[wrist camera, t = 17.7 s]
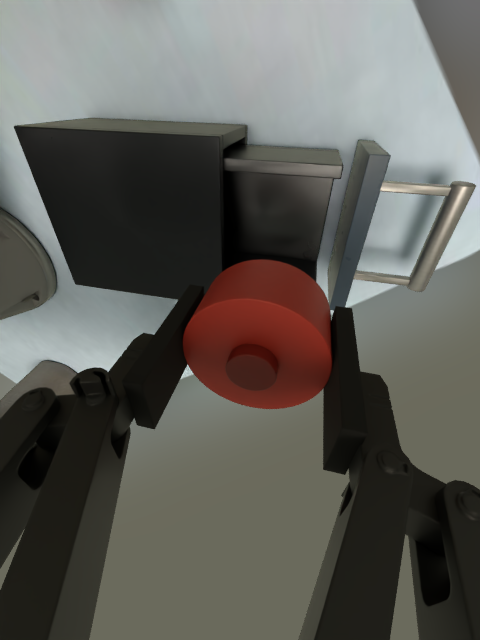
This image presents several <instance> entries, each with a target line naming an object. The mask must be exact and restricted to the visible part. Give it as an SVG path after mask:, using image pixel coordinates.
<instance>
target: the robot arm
mask: <svg viewBox="0 0 480 640" xmlns="http://www.w3.org/2000/svg"><path fill="white" fill-rule="evenodd" d="M55 289H56V276H55V272H54V269H53V266H52V263H51V261H50V259H49V257H48V255H47V254H46V252H45V250H44V249H43V247H42V246H41V245H40V243H39V242H38V241H37V239H36V238H35V237H34V236H33V235H32V234H31V233H30V232H29V231H28V229H27V228H25V227H24V226H23V225H22V224H21V223H20V222H19V221H18V220H16V219H15V218H14V217H12V216H11V215H10V214H8V213H7V212H5V211H4V210H2V209H0V320H2V319H5V318H8V317H11V316H14V315H17V314H20V313H23V312H26V311H29V310H32V309H35V308H37V307H39V306H41V305H42V304H43V303H45V302H46V301H47V300H49V299H50V298H51V297H52V296H53V294H54V292H55ZM203 297H204V286H197V285H189V286H188V288H187V289H186V291H185V292H184V293H183V295H182V296H181V298H180V299H179V301H178V302H177V303H176V305H175V306H174V308H173V309H172V310H171V312H170V313H169V315H168V316H167V318H166V319H165V320H164V322H163V323H162V325H161V326H160V327H159V329H158V330H157V332H156V333H155V335H152V334H147V333H143V334H141V335H140V336H138V337H137V338H135V339H134V340H133V341H132V342H131V344H130V345H129V346H128V347H127V350H125V351H124V353H123V354H122V356H120V358H119V359H118V360H117V362H116V363H115V364H114V365H113V367H112V368H111V369H110V371H109V372H107V371H106V370H104V369H102V368H90V369H86V370H84V371H82V372H79V373H78V374H77V375H76V376H74V377H73V378H72V380H71V381H70V383H69V384H70V386H71V388H72V390H73V392H74V393H75V394H69V395H57V396H56V394H55V392H54V391H53V390H52V389H50V388H47V387H39V388H36V389H32V390H30V391H28V392H26V393H25V394H23V395H22V396H21V397H20V398H18V399H17V400H16V401H15V403H14V404H13V405H12V406H11V407H10V408H9V409H8V410H7V412H6V413H5V414H4V415H3V416H2V417H1V418H0V568H1V567H2V565H3V563H4V562H5V560H6V558H7V557H8V555H9V554H10V552H11V550H12V548H13V547H14V545H15V543H16V542H17V540H18V539H19V537H20V535H21V534H22V532H23V530H24V529H25V530H24V533H23V535H22V537H21V540H20V542H19V545H18V547H17V550H16V552H15V555H14V557H13V560H12V562H11V565H10V567H9V570H8V573H7V575H6V578H5V580H4V583H3V585H2V588H1V590H0V640H89V637H90V632H91V628H92V623H93V618H94V613H95V607H96V602H97V597H98V592H99V588H100V583H101V578H102V573H103V568H104V562H105V558H106V553H107V548H108V542H109V538H110V533H111V528H112V523H113V518H114V513H115V508H116V503H117V498H118V493H119V488H120V483H121V478H122V473H123V469H124V464H125V458H126V453H127V449H128V443H129V439H130V427H129V426H130V424H131V422H132V421H133V419H134V418H135V420H136V423H137V425H138V426H143V427H147V428H151V429H155V427H156V425H157V424H158V421H159V420H160V418H161V416H162V414H163V412H164V410H165V408H166V406H167V404H168V402H169V400H170V398H171V396H172V394H173V392H174V390H175V388H176V386H177V384H178V382H179V380H180V378H181V376H182V374H183V372H184V370H185V368H186V366H187V361H186V359H185V356H184V351H183V335H184V332H185V328H186V326H187V325H188V323H189V321H190V319H191V318H192V316H193V314H194V312H195V311H196V309H197V307H198V306H199V304H200V302H201V301H202V299H203ZM331 337H332V370H331V374H330V377H329V380H328V382H327V384H326V385H325V387H324V426H323V428H324V429H323V430H324V432H323V469H324V470H327V471H332V472H336V473H340V474H344V475H345V474H346V472H347V470H348V469H349V478H350V482H349V483H348V485H347V487H346V488H345V490H344V492H343V493H342V497H343V500H342V502H341V506H340V509H339V512H338V515H337V518H336V522H335V525H334V528H333V531H332V534H331V538H330V541H329V544H328V547H327V551H326V554H325V557H324V560H323V563H322V566H321V569H320V572H319V576H318V579H317V582H316V585H315V588H314V591H313V595H312V598H311V601H310V604H309V607H308V611H307V614H306V617H305V620H304V623H303V626H302V630H301V633H300V636H299V639H298V640H390V634H391V627H392V620H393V613H394V606H395V599H396V593H397V586H398V579H399V572H400V565H401V558H402V552H403V545H404V538H405V534H406V535H408V537H409V547H410V557H411V566H412V574H413V575H412V576H413V585H414V595H415V604H416V613H417V623H418V632H419V640H480V490H479V489H478V488H476V487H475V486H473V485H470V484H469V483H466V482H464V481H457V480H455V481H452V482H449V483H447V484H445V483H443V482H441V481H439V480H437V479H435V478H433V477H431V476H430V475H428V474H426V473H424V472H422V471H421V470H419V469H418V468H416V467H415V466H414V465H413V464H412V463H411V462H410V460H409V458H408V457H407V456H406V455H405V454H404V453H403V451H402V450H401V446H400V444H399V439H398V434H397V429H396V425H395V420H394V415H393V411H392V409H391V408H392V406H391V402H390V400H389V398H390V397H389V392H388V387H387V385H386V384H385V382H384V381H383V379H382V378H381V376H380V375H376V374H371V373H366V372H360V367H359V360H358V351H357V344H356V336H355V328H354V320H353V312H352V308H346V307H339V306H335V310H334V313H333V317H332V320H331Z"/></svg>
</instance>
